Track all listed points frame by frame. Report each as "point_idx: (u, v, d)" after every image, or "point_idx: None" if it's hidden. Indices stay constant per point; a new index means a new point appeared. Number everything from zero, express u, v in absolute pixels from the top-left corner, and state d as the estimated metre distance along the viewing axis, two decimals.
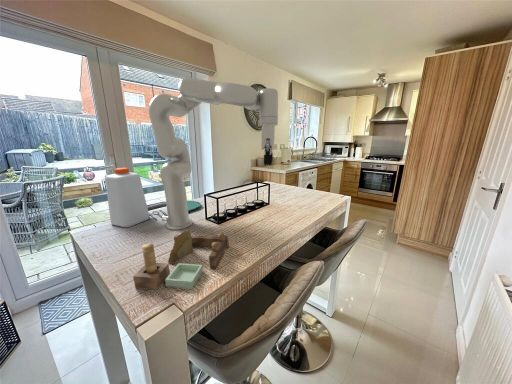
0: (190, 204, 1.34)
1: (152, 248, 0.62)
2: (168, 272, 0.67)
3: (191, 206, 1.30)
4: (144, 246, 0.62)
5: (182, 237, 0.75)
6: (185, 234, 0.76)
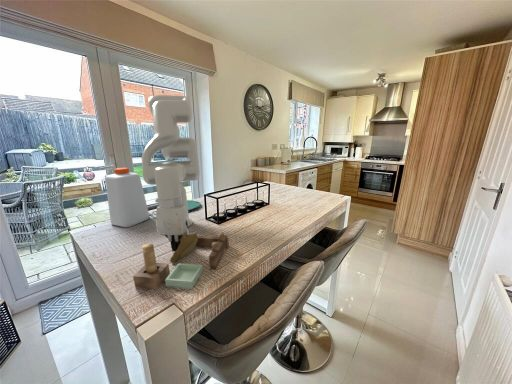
0: (190, 204, 1.35)
1: (152, 248, 0.62)
2: (168, 272, 0.67)
3: (191, 206, 1.31)
4: (144, 246, 0.62)
5: (188, 239, 0.74)
6: (192, 237, 0.74)
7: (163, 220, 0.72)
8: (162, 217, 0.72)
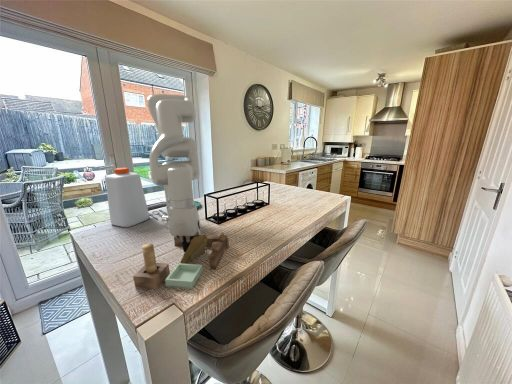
0: None
1: (152, 248, 0.62)
2: (168, 272, 0.67)
3: None
4: (144, 246, 0.62)
5: (197, 240, 0.73)
6: (201, 238, 0.73)
7: (176, 221, 0.71)
8: (174, 218, 0.71)
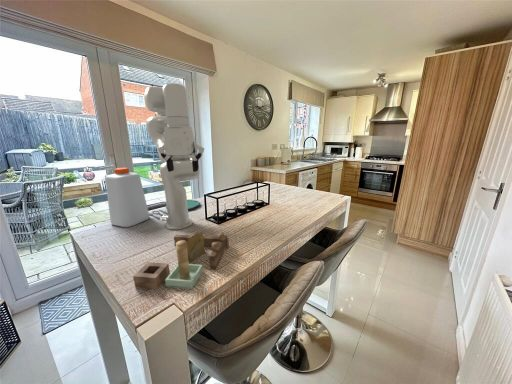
0: (188, 203, 1.36)
1: (186, 245, 0.62)
2: (168, 272, 0.67)
3: (190, 205, 1.33)
4: (178, 243, 0.62)
5: (194, 238, 0.74)
6: (198, 236, 0.74)
7: (171, 140, 0.73)
8: (170, 136, 0.73)
